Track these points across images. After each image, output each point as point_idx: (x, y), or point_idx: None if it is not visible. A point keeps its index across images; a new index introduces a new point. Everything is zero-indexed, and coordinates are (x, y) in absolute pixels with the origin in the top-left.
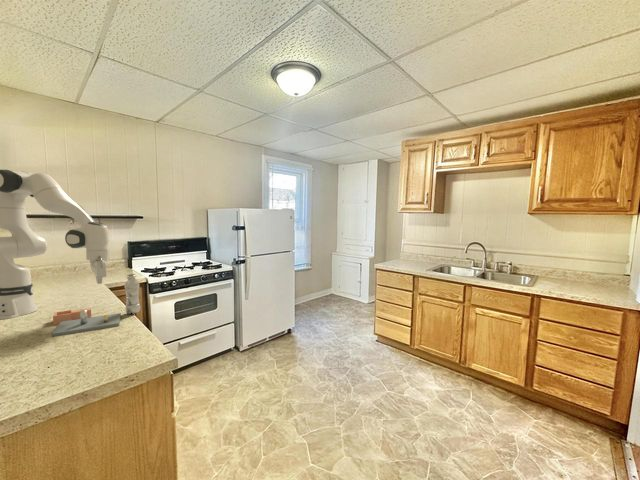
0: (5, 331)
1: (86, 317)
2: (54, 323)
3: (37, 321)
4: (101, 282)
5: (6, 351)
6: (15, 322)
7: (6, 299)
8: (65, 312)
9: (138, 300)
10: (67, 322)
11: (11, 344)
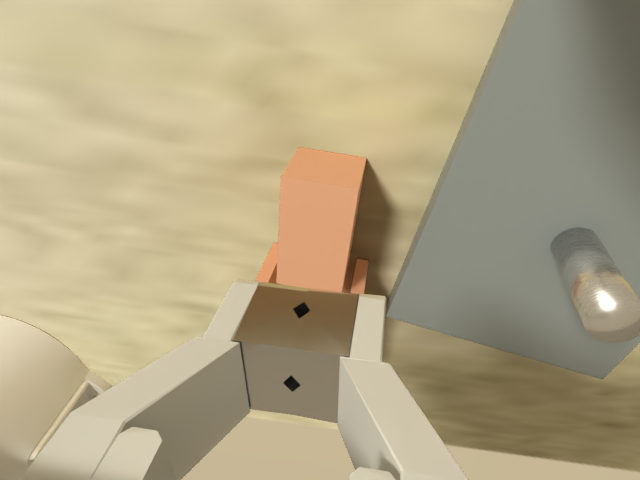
0: (307, 425)
1: (616, 265)
2: None
3: None
4: (384, 314)
5: (602, 465)
6: None
7: (24, 471)
8: None
9: None
10: (439, 300)
11: (521, 445)
